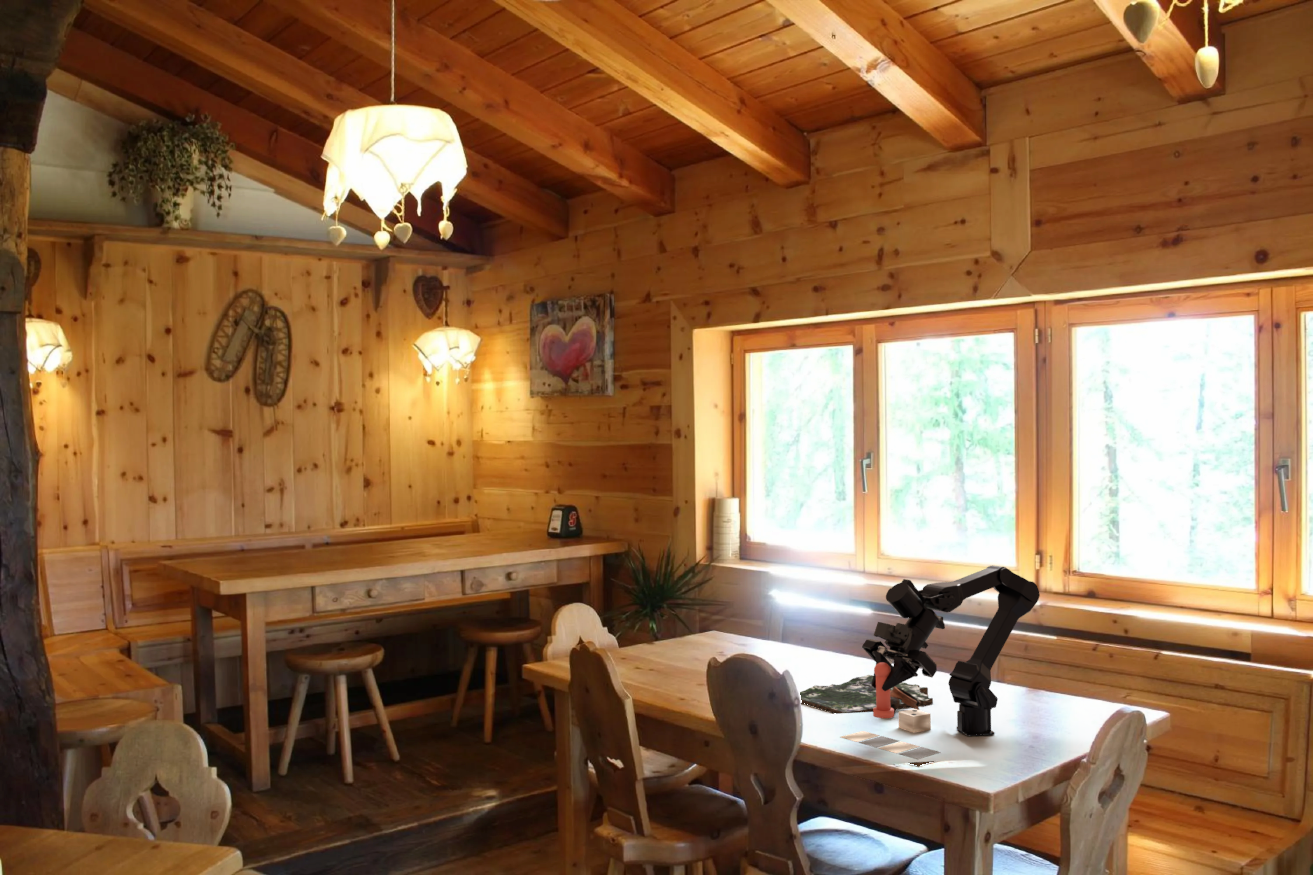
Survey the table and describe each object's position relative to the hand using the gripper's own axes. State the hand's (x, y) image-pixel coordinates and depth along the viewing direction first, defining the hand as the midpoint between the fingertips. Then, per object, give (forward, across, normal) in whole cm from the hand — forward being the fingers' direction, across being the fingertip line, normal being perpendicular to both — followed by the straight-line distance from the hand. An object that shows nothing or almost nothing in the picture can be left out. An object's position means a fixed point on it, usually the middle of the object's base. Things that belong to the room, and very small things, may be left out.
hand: (878, 688), depth 224 cm
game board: (+8, +1, +11) cm, 14 cm away
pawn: (+3, 0, +5) cm, 6 cm away
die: (-1, -6, +20) cm, 21 cm away
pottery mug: (-5, -19, +25) cm, 31 cm away
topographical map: (-9, -37, +29) cm, 48 cm away
